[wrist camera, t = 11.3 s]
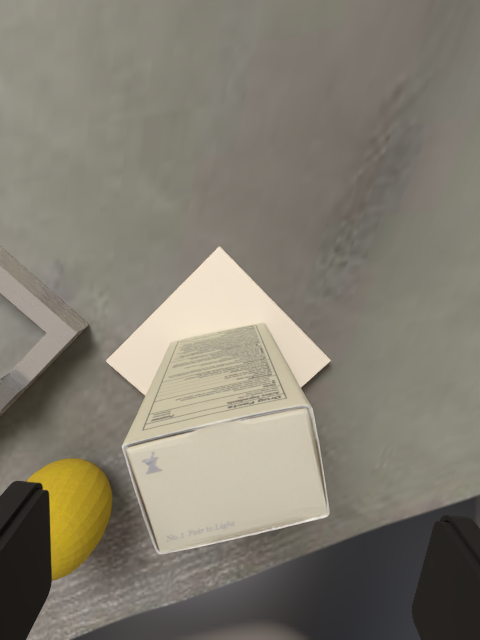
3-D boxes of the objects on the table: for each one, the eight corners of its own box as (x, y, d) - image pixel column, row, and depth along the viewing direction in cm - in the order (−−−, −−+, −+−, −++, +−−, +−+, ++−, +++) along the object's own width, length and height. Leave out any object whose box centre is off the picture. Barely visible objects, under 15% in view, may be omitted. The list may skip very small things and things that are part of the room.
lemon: (47, 429, 25) (-31, 517, 18) (130, 442, 26) (90, 532, 18) (40, 500, 27) (-35, 611, 19) (120, 511, 27) (79, 624, 19)
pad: (219, 245, 23) (219, 246, 22) (327, 356, 25) (330, 360, 24) (109, 356, 24) (105, 361, 24) (219, 454, 26) (219, 461, 26)
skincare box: (185, 402, 25) (149, 562, 13) (168, 337, 24) (111, 445, 12) (281, 382, 24) (334, 524, 13) (268, 316, 23) (313, 403, 12)
